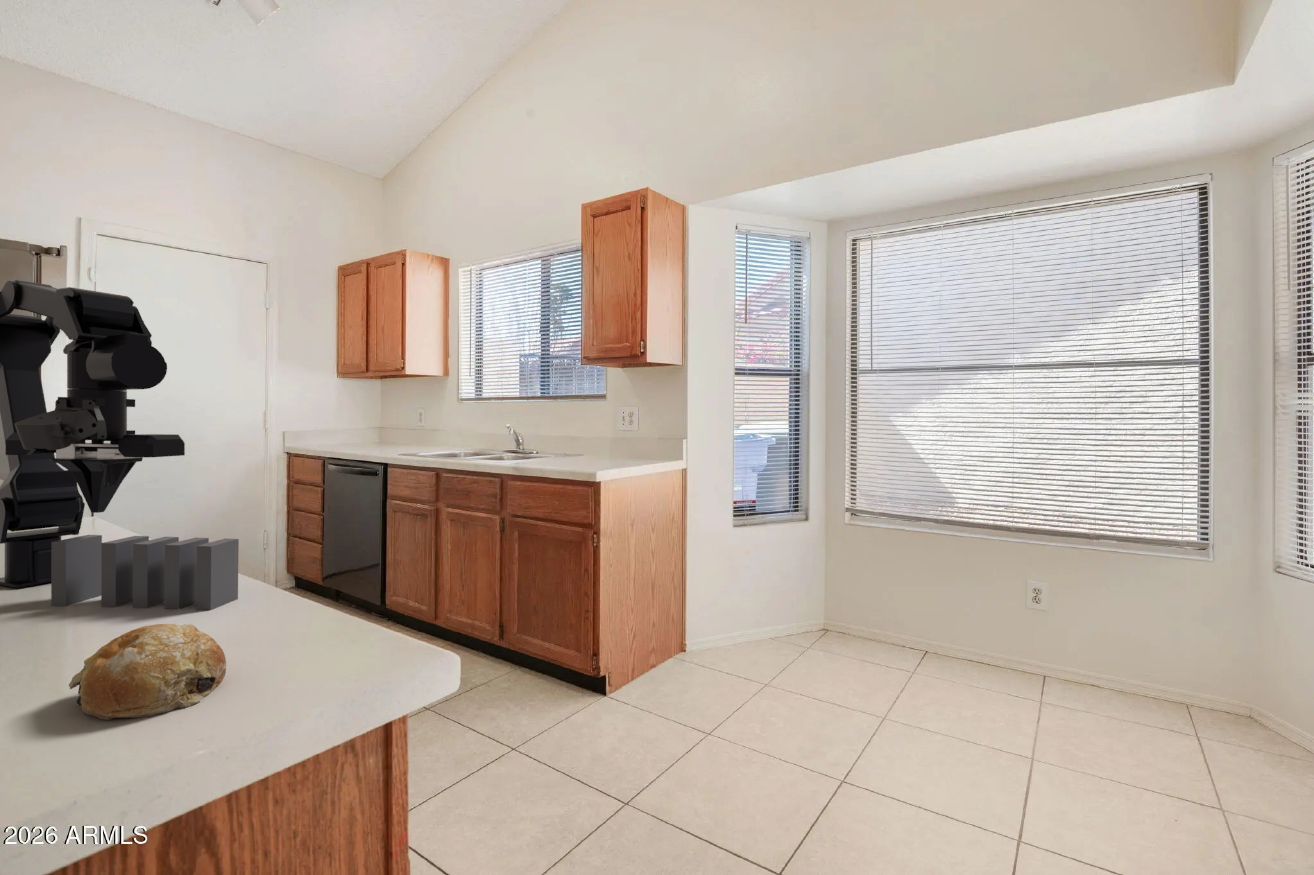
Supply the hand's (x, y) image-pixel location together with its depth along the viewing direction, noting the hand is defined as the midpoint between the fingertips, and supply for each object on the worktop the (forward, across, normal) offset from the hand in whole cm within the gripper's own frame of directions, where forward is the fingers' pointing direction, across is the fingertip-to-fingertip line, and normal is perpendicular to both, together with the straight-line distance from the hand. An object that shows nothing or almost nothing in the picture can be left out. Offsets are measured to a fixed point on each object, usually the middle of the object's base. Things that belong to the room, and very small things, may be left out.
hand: (97, 512), depth 81 cm
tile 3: (+12, +7, 0) cm, 14 cm away
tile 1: (+11, -3, 0) cm, 12 cm away
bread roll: (+12, +28, -26) cm, 40 cm away
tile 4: (+12, +11, 0) cm, 16 cm away
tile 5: (+12, +15, 0) cm, 19 cm away
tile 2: (+12, +3, 0) cm, 12 cm away
